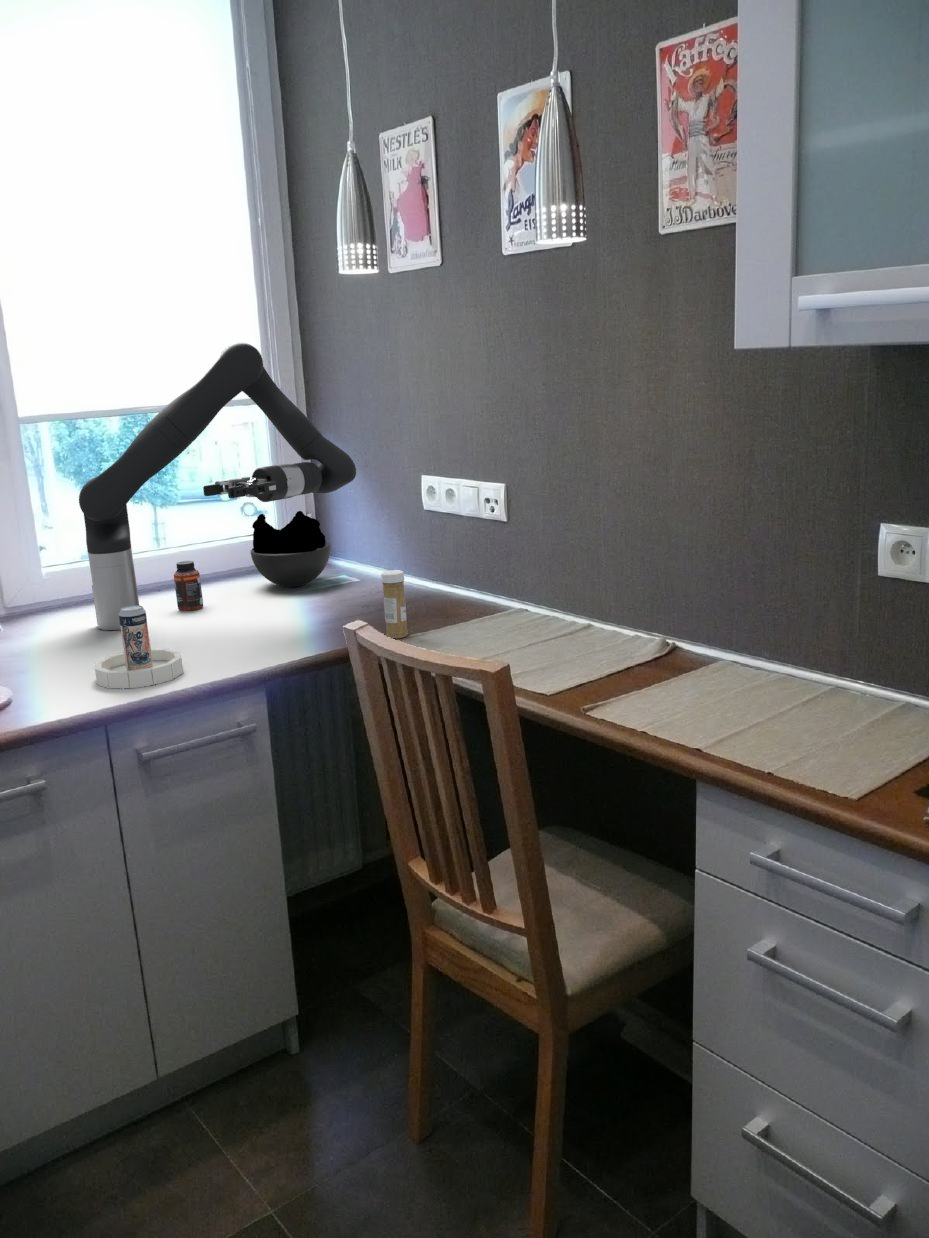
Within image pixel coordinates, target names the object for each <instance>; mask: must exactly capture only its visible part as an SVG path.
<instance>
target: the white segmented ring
mask: <svg viewBox="0 0 929 1238" xmlns="http://www.w3.org/2000/svg"><path fill="white" fill-rule="evenodd" d="M151 655H152V663H153V667H151V668H146V669H139V670H131V671H127V669H126V662H125V655H124V651H123V652H119V653H115V654H112V655H108V656H105V657H104V658H102V659H100V660H98V661H96V662H94V672H95V679H96V685H97V686H101V687H103V688H107V689H111V688H120V690H121V688H122V689H123V690H125V689H124V688H130V689H131V688H132V689H137V688H144V686H146V687H151V686H150V685H153V686H156V685H160V684H163V683H165V681H166V682H169V681H173V680H175V679H176V678H178V677H179V676H180V674H181V675H182V674H184V667H183V658H182V655H181V651H178V650H174V649H171V648H151ZM174 678H175V679H174ZM155 684H156V685H155Z"/></svg>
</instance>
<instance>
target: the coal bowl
mask: <svg viewBox="0 0 929 1238" xmlns="http://www.w3.org/2000/svg"><path fill="white" fill-rule="evenodd" d="M320 526H321V522H319V520H317V519H316V518H313V517H311V516H308V515H306V514H304V512H303V511H302V510H299V511H296V513H295V514H294V516H293V517H292V519H291V520H290V521H289V523H287V524H286V525H285V526H284V527H282V528H281V529H279V528H278V529H277V528H275V527H273V525H271V524H269V523H268V522H267V521H266V516H265V514H264V513H261V514H259V515H258V516H257V517H256V520H254V521H253V522H252V526H251V527H252V528H253V534H252V548H251V550H250V556H251V560H252V562H253V564H254V566H255V569H256V570H257V571H258V573H260V575H261V576H263V577H264V578H265V579H266V580H268V581H269V582H271V583H273V584H276V585H278V586H282V587H287V588H295V587H300V586H304V585H306V584H307V585H308V584H309V583H310V582H312V581H314V580H315V579H316V578H318V577H319V576H320V575H321V574H322V572H323V571H324V569H325V568H326V567H327V564H328V561H329V560H330V554H331V543H329V542H328V541H327V540H326V535H325V534H324V533H323V532H322V530H321V528H320Z"/></svg>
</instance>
